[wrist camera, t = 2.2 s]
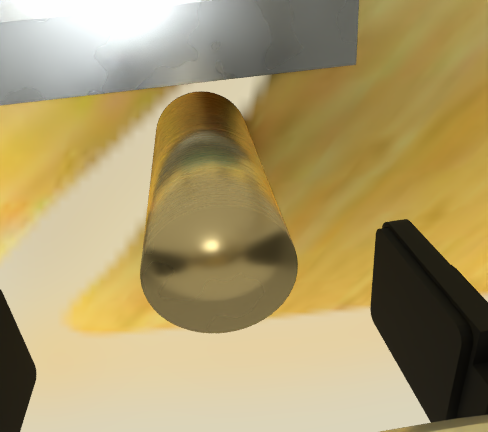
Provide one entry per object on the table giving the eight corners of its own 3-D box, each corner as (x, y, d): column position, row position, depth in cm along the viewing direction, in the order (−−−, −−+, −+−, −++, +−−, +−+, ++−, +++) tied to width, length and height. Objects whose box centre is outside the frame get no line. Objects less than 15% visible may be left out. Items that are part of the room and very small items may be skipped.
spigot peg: (243, 86, 19) (295, 196, 11) (249, 171, 21) (298, 321, 13) (148, 97, 19) (124, 219, 10) (164, 182, 21) (155, 343, 12)
